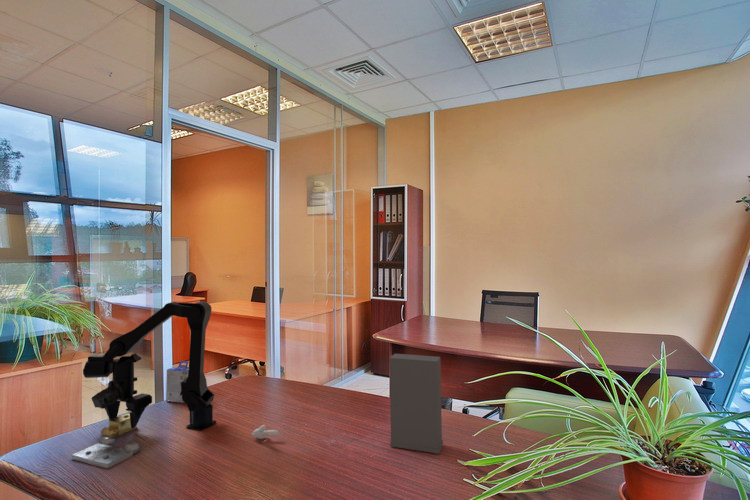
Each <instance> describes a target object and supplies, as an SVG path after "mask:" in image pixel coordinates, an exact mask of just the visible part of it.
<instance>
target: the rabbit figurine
mask: <svg viewBox="0 0 750 500" xmlns="http://www.w3.org/2000/svg"><path fill="white" fill-rule="evenodd" d="M279 433H280V432H279V431H278V430H276V429H268V430H266V424H262V425H261V426H259V427H258V428H256V429H254V430H253V432H251V433H250V435H251V436H253V437H255V438H257V439H259V440H262V439H265V438H266V437H267V436H269V437H273V436H277V435H278V434H279ZM267 441H268V438H267V439H265V440H263V441H262V442H263V443H264V442H267Z"/></svg>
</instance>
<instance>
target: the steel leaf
mask: <svg viewBox="0 0 750 500" xmlns="http://www.w3.org/2000/svg"><path fill="white" fill-rule="evenodd" d="M114 445H116V439H115V438H111V437H106V436H102V437H101V438H100V439H99V440H98V443H95V444H94V445H91V446H88V447H87V448H84V449H82V450H79V451H77V452H75V453H73V454H71V460H73V461H78V462H81V463H85V464H89V465H92V466H96V467H99V468H103V469H105V470H106V469H109V468H111V467H113V466H116V465H117V464H119V463H121V462H123V461H125V460H128V459H130V458H132V457H133V456H134V455H136V454H137V455H138V453H140V452H141V450H142V445H141V444H139V443H135V442H131V441H129V442H127V443H126V444H125V445H124V447H123V448H121V447H117V446H114Z"/></svg>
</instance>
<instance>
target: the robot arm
mask: <svg viewBox="0 0 750 500" xmlns="http://www.w3.org/2000/svg"><path fill="white" fill-rule="evenodd" d="M211 315H212V306H211V305H210V304H209V302H208V301H198V302H194V303H193V302H177V301H171V302H168V303H165V304H164V306H163V307H162V308H160V309H159V310H158V311H156V312H155V313H154V314H153V315H151V316H150V317H148V318H147V319H146V320H145V321H143V322H142V323H140V324H139V325H138V326H136V327H135V328H134V329H131V330H130V331H128V332H126V333H123V334H122V335H120V336H118V337H116V338H114V339H113V340H111V341H110V342H109V344H108V345H109V348H108V350H106V352H105V353H104V355H99V354H92V355H89V356H88V357H87V361H86V362H85V364H84V367H83V368H82V374H83V376H84V378H85V379H94V378H96V379H97V378H108V377H109V376H110V375H112V380H109V381H108V383H107V387H106V388H104V389H102V390H100V391H99V392H97V393H96V394H94V395H93V396H92V397H91V400H92V403H93V406H94V407H95V408H99V409H103V410H105V412H106V415H107V418H108V421H109V420H111V419H114V418H117V417H118V414H119V410H120V406H121V403H125V406H126V409H125V411H126V412H128V413H129V414H130V422H131V428H132V429H133V428H135V427H136V425H137V426H138V423H139V421H140V419H141V417H142V415H143V413H144V411H145V410H146V409H147V407H149V406H150V404H152V403H153V396H152V395H151V394H148V393H143V392H142V393H139V394H138V390H136V389H135V382H137V381H138V377H136V376H135V363H137V362H139V361H141V360H142V357H141V356H140V355H138V354H137V352H134V351H135V350H136V349H137V348H138V347H139V346H140V345H141V344H142V342H143V341H144V339H146V337H147V336H148V335H150V334H151V333H152V332H154V331H155V330H156V329H158V327H160V326H161V325H162V324H164V323H166V322H167V321H168V320H169V319H170V318H172V317H173V316H175V317H179V318H186V320H187V325H188V328H189V330H190V338H189V357H188V359H189V360H188V361H189V362H188V367H189V373H188V377H187V378H186V379H185V380H183V381H182V382H181V393H180V396H181V395H182V400H183V402H185V404H186V406H187V409H188V411H189V424H187V425H186V429H192V430H197V431H203V430H205V429H207V428H209V427H211V426H213V425H214V424H216V423H217V420H214V419H213V410H214V409H213V405H212V402H213V401H214V399H215V396H216V395H215V394H214V393H213V392H212V391H211V390H210V389H209V388H208V384H207V383H208V382H207V378H206V376H205V375H206V374H205V373H204V371H205V369H204V367H205V353H206V352H205V351H206V348H205V347H206V334H207V333H206V332H207V330H206V329H207V327H208V325H209V321H210V319H211ZM132 352H134V353H132ZM129 353H132V354H131V355H127V354H129ZM118 357H119V358H118ZM135 429H136V428H135ZM133 430H134V429H133Z"/></svg>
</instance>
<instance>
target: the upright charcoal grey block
mask: <svg viewBox="0 0 750 500" xmlns="http://www.w3.org/2000/svg"><path fill="white" fill-rule="evenodd" d="M441 365H442V364H441V356H433V355H432V356H431V355H421V354H420V355H419V354H408V353H407V354H406V353H394V354H392V355H391V356H390V357H389V397H390V401H389V402H390V403H389V404H390V407H389V408H390V441H389V442H390V443H389V445H390V447H391V448H399V449H407V450H410V451H412V450H413V451H419V452H426V453H431V454H434V455H439V454H440V453H441V451H442V447H443V444H444V439H443V436H442V435H443V432H442V431H443V430H442V427H443V426H442V425H443V424H442V379H441V378H442V375H441V374H442V371H441V370H442V369H441V367H442V366H441Z"/></svg>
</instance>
